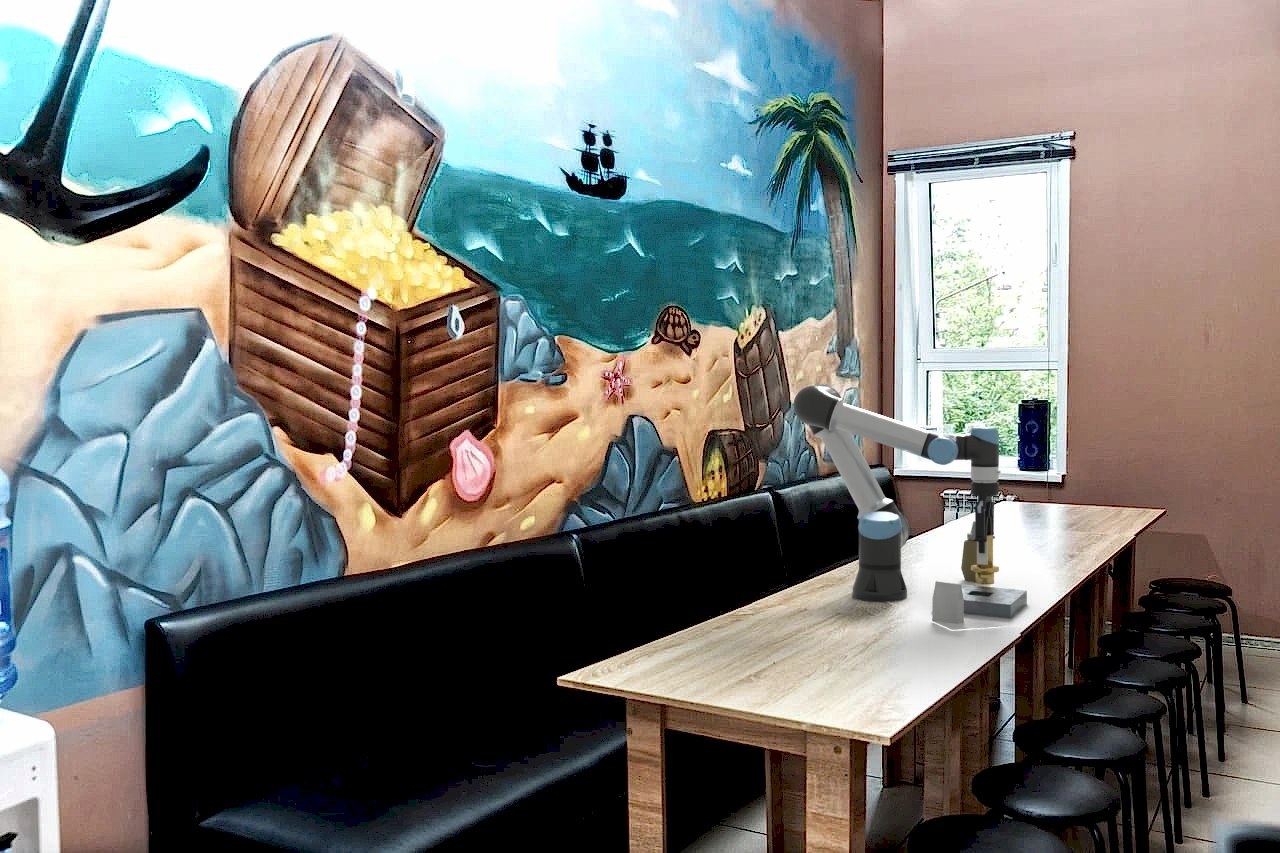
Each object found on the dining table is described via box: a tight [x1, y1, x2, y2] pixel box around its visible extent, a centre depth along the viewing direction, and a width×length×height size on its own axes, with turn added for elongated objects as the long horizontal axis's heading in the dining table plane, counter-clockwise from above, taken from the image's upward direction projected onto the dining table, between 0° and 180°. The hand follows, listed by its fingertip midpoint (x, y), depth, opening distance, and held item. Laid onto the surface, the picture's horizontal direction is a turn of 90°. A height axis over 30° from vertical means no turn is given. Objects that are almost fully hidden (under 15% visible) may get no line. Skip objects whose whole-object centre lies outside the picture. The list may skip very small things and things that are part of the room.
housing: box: [960, 583, 1028, 620], centre depth 292 cm, size 20×20×4 cm
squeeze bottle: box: [960, 520, 977, 583], centre depth 329 cm, size 8×8×18 cm
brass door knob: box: [971, 534, 1000, 586], centre depth 309 cm, size 8×8×14 cm
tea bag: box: [931, 580, 965, 624], centre depth 277 cm, size 4×7×10 cm, turn 51°
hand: (984, 562), depth 310 cm, fingers closed on brass door knob, 4 cm apart
